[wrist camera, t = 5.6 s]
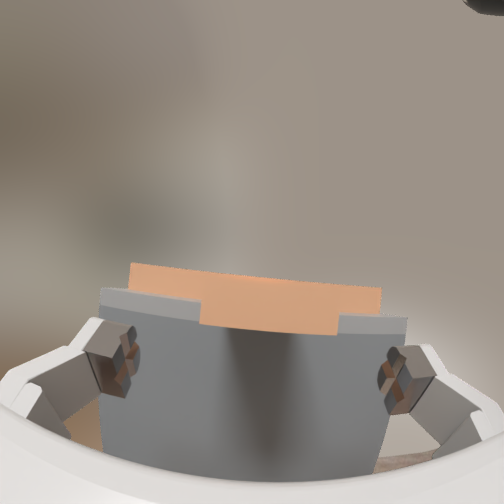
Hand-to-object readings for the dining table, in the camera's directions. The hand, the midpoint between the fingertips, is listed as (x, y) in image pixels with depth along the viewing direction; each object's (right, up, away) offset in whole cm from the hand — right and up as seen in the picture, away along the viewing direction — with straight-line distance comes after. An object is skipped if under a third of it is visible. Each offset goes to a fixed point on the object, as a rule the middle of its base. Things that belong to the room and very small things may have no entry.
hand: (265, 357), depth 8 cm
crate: (-3, -26, +11) cm, 29 cm away
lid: (0, 0, +10) cm, 10 cm away
